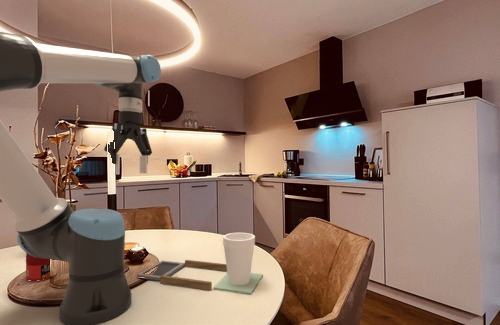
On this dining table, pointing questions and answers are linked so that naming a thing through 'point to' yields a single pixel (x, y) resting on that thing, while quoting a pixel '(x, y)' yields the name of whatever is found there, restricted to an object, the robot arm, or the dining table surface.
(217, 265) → the channel rails
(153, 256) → the dining table surface
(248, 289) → the pad
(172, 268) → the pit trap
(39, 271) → the canned food
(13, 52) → the robot arm
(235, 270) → the foam cup
